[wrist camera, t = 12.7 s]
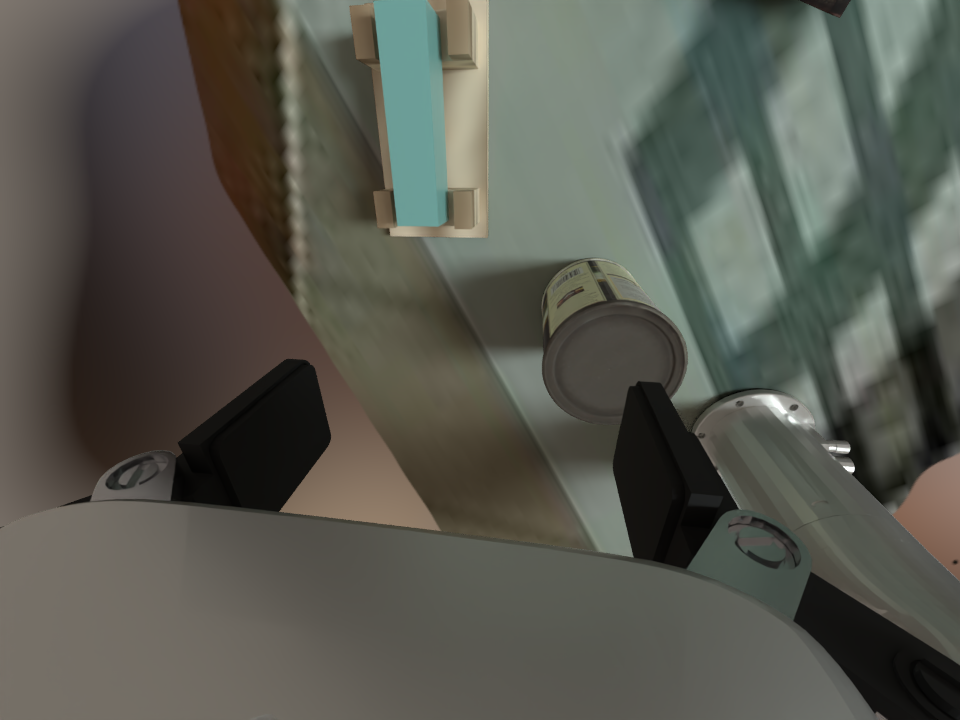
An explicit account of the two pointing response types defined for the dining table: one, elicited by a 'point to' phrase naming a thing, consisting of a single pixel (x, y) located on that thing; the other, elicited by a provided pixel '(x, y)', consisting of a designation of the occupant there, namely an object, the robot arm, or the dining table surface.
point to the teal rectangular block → (414, 109)
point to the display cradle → (464, 112)
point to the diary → (829, 6)
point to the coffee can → (605, 341)
